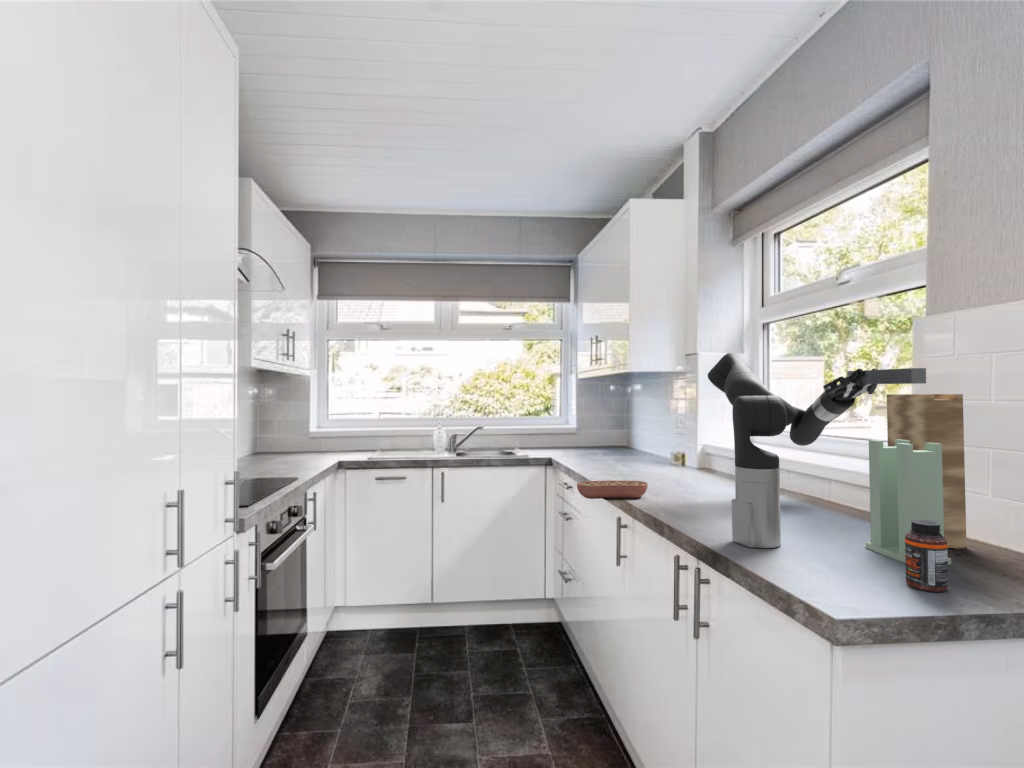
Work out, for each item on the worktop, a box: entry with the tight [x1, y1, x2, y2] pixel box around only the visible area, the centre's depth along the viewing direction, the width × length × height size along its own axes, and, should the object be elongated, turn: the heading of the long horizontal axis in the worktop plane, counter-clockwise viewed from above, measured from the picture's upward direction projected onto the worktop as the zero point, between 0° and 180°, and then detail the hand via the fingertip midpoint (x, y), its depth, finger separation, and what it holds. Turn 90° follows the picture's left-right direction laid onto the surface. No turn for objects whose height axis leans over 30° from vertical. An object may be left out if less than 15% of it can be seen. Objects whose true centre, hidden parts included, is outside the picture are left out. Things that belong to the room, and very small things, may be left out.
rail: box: [846, 367, 927, 385], centre depth 138 cm, size 22×4×4 cm, turn 4°
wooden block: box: [886, 393, 968, 550], centre depth 126 cm, size 12×8×33 cm, turn 4°
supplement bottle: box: [904, 520, 949, 593], centre depth 97 cm, size 6×6×11 cm
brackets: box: [864, 439, 952, 566], centre depth 115 cm, size 13×8×24 cm, turn 4°
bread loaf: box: [576, 480, 648, 500], centre depth 182 cm, size 23×10×5 cm, turn 90°
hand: (869, 371), depth 143 cm, fingers closed on rail, 3 cm apart
